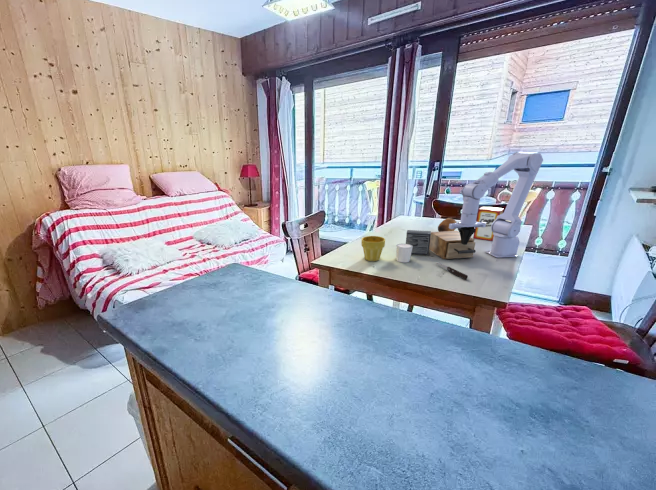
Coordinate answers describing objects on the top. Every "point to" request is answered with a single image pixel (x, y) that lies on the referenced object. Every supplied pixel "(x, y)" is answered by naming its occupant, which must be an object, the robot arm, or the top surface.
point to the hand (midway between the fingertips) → (464, 244)
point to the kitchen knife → (452, 271)
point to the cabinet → (443, 241)
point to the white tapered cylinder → (403, 252)
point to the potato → (446, 225)
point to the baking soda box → (488, 217)
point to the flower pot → (372, 247)
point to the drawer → (460, 250)
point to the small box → (419, 241)
